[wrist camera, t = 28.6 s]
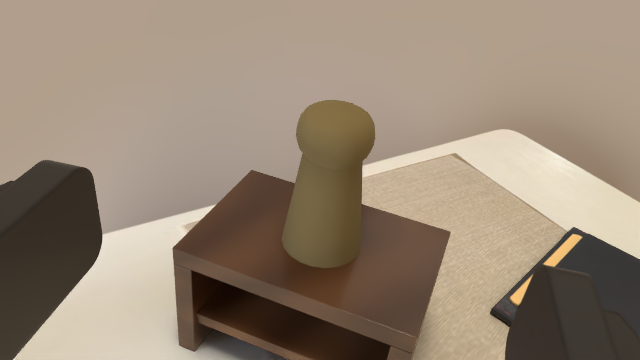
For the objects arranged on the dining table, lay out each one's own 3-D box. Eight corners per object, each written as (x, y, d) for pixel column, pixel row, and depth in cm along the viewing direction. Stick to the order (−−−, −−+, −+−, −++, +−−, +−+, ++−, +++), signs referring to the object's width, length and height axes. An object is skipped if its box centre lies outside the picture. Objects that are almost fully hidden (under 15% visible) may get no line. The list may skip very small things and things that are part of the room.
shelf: (178, 345, 44) (172, 247, 38) (248, 257, 53) (251, 169, 47) (388, 434, 39) (417, 338, 33) (423, 321, 49) (450, 231, 43)
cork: (336, 280, 37) (358, 142, 31) (265, 244, 39) (273, 110, 33) (374, 236, 41) (400, 108, 35) (309, 206, 44) (322, 81, 38)
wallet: (661, 409, 41) (489, 295, 49) (650, 424, 42) (483, 309, 51) (725, 292, 53) (578, 217, 62) (715, 305, 54) (572, 230, 63)
